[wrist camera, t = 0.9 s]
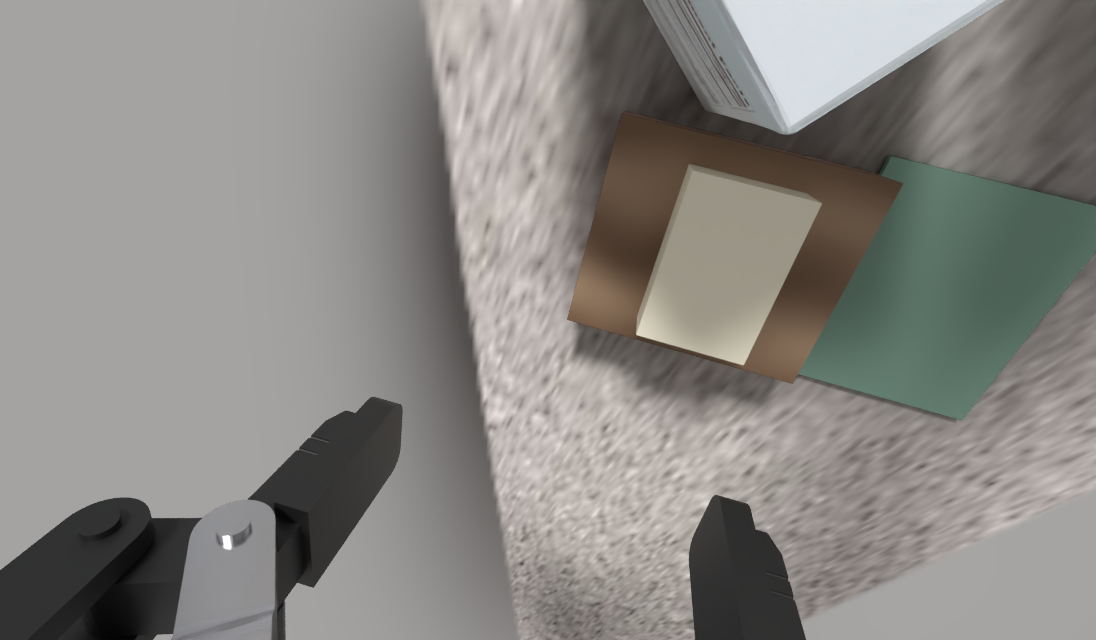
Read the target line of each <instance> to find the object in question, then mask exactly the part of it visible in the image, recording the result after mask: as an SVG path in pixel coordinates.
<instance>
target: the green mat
mask: <svg viewBox="0 0 1096 640" xmlns="http://www.w3.org/2000/svg"><path fill="white" fill-rule="evenodd" d="M878 175H881V176H884V177H887V178H890V179H892V180H895V181H898V182H901V183H904V184H903V186H902V187H901V189H900V191H899V193H898V195H897V196H896V198H895V200H894V202H893V204H892V205H891V207H890V209H889V211H888V213H887V214H886V216H885V218H884V220H883V222H882V223H881V225H880V227H879V229H878V231H877V232H876V234H875V236H874V238H873V240H872V241H871V243H870V245H869V247H868V249H867V251H866V252H865V254H864V256H863V258H862V260H861V261H860V263H859V265H858V267H857V269H856V270H855V272H854V274H853V276H852V278H851V279H850V281H849V283H848V285H847V287H846V288H845V290H844V292H843V294H842V296H841V297H840V299H839V301H838V303H837V305H836V306H835V308H834V310H833V312H832V314H831V315H830V317H829V319H828V321H827V323H826V324H825V326H824V328H823V330H822V332H821V333H820V335H819V337H818V339H817V341H816V342H815V344H814V346H813V348H812V350H811V351H810V353H809V355H808V357H807V359H806V360H805V362H804V364H803V366H802V368H801V369H800V371H799V373H798V374H799V375H803V376H807V377H810V378H814V379H817V380H821V381H824V382H828V383H831V384H835V385H838V386H842V387H846V388H849V389H853V390H856V391H860V392H863V393H867V394H870V395H874V396H877V397H881V398H885V399H888V400H892V401H895V402H899V403H902V404H906V405H909V406H913V407H916V408H920V409H924V410H927V411H931V412H934V413H938V414H941V415H945V416H948V417H952V418H955V419H959V420H963V418H964V417H965V416H966V415H967V413H968V412H969V411H970V410H971V408H972V407H973V406H974V405H975V403H976V402H977V401H978V400H979V398H980V397H981V396H982V395H983V393H984V392H985V391H986V389H987V388H988V387H989V386H990V384H991V383H992V382H993V381H994V379H995V378H996V377H997V376H998V374H999V373H1000V372H1001V371H1002V369H1003V368H1004V367H1005V366H1006V364H1007V363H1008V362H1009V360H1010V359H1011V358H1012V357H1013V355H1014V354H1015V353H1016V352H1017V350H1018V349H1019V348H1020V347H1021V345H1022V344H1023V343H1024V342H1025V340H1026V339H1027V338H1028V337H1029V335H1030V334H1031V333H1032V331H1033V330H1034V329H1035V328H1036V326H1037V325H1038V324H1039V323H1040V321H1041V320H1042V319H1043V318H1044V316H1045V315H1046V314H1047V313H1048V311H1049V310H1050V309H1051V307H1052V306H1053V305H1054V304H1055V302H1056V301H1057V300H1058V299H1059V297H1060V296H1061V295H1062V294H1063V292H1064V291H1065V290H1066V289H1067V287H1068V286H1069V285H1070V284H1071V282H1072V281H1073V280H1074V278H1075V277H1076V276H1077V275H1078V273H1079V272H1080V271H1081V270H1082V268H1083V267H1084V266H1085V265H1086V263H1087V262H1088V261H1089V260H1090V258H1091V257H1092V256H1093V255H1094V253H1095V252H1096V206H1095V205H1091V204H1086V203H1082V202H1078V201H1074V200H1070V199H1066V198H1062V197H1058V196H1054V195H1049V194H1045V193H1041V192H1037V191H1033V190H1029V189H1025V188H1021V187H1017V186H1012V185H1008V184H1004V183H1000V182H996V181H992V180H988V179H984V178H980V177H975V176H971V175H967V174H963V173H959V172H955V171H951V170H947V169H943V168H938V167H934V166H930V165H926V164H922V163H918V162H914V161H910V160H905V159H901V158H897V157H893V156H889V155H888V157H887V159H886V161H885V163H884V165H883V166H882V168H881V170H880V172H879V174H878Z"/></svg>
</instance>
